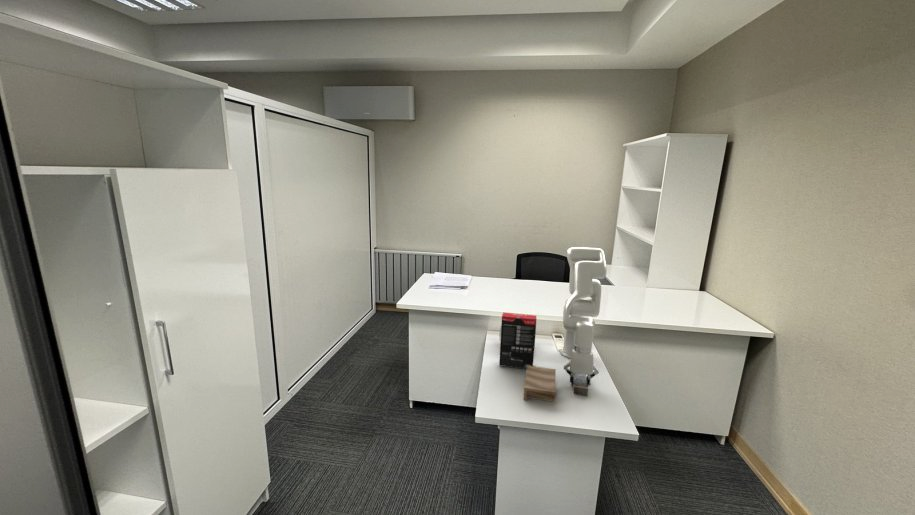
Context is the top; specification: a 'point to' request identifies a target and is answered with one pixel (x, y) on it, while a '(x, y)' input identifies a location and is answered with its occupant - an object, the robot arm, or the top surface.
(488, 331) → the top surface
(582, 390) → the slab
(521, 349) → the graphics card box
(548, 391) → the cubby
